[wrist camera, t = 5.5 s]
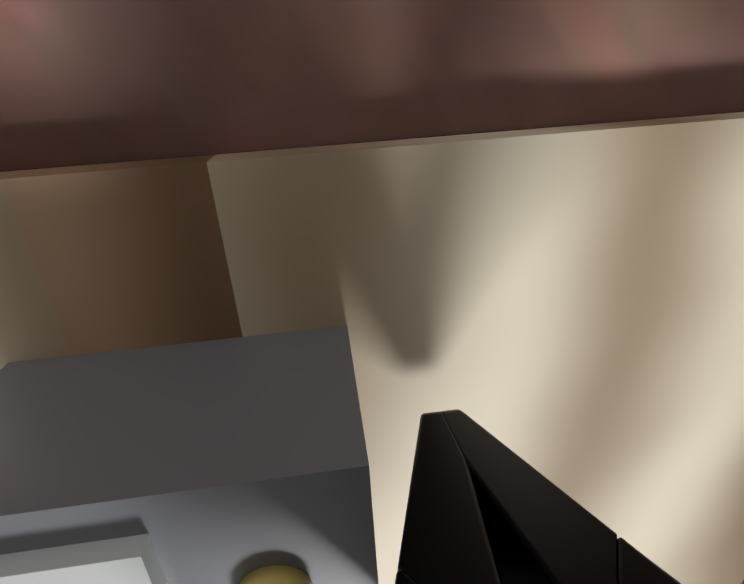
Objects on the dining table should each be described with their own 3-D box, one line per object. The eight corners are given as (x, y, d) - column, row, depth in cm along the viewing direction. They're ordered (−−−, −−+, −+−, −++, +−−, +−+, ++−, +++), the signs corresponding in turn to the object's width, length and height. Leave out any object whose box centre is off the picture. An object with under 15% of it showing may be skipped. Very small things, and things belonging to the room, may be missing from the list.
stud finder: (347, 325, 9) (372, 485, 5) (361, 481, 10) (387, 679, 7) (7, 363, 8) (-208, 567, 5) (81, 520, 10) (-40, 755, 6)
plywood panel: (897, 99, 9) (949, 101, 8) (665, 701, 18) (680, 727, 18) (-134, 183, 8) (-180, 193, 7) (184, 794, 17) (179, 826, 16)
